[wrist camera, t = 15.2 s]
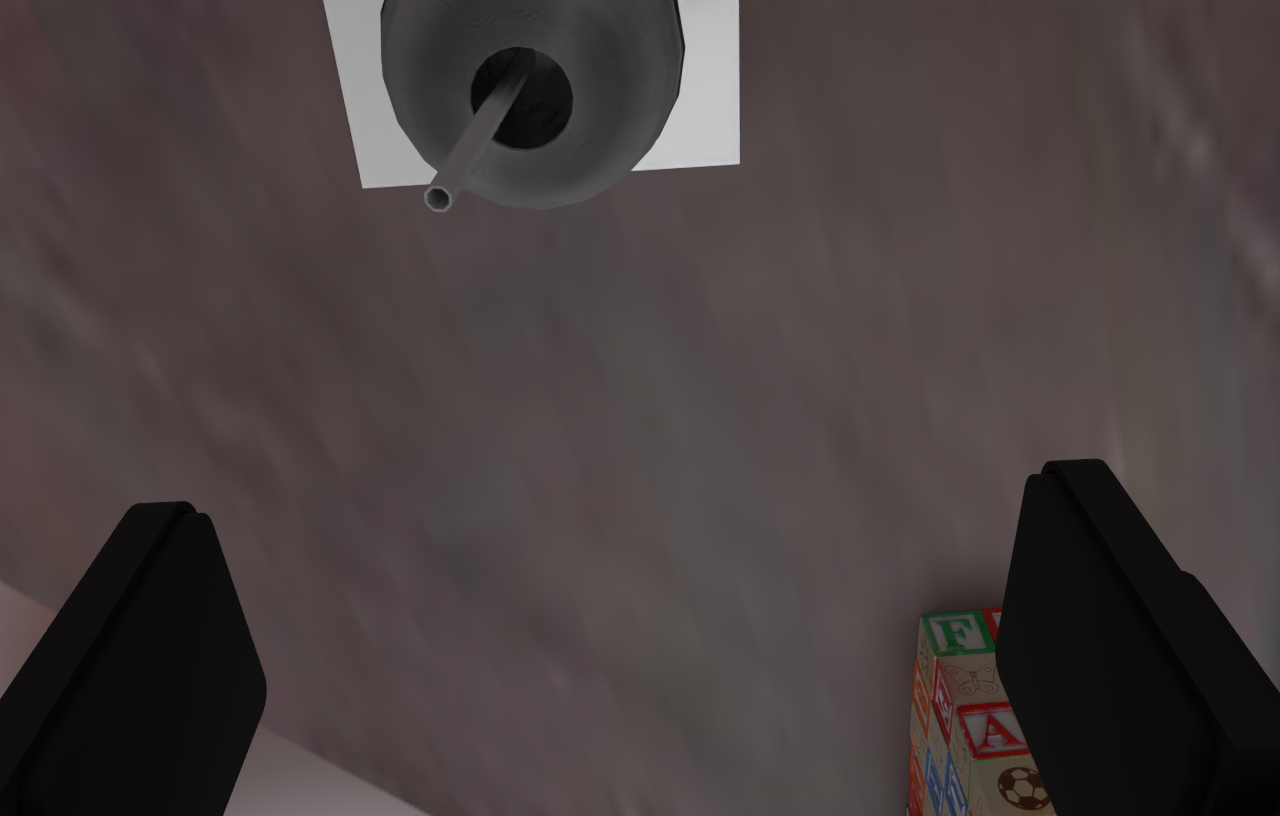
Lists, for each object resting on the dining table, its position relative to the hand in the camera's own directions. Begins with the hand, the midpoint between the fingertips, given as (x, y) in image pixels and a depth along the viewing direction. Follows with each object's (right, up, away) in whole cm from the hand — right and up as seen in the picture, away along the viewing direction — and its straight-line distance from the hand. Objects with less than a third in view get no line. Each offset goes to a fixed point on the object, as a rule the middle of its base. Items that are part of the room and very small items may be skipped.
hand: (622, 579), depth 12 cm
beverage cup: (-3, +17, +22) cm, 28 cm away
